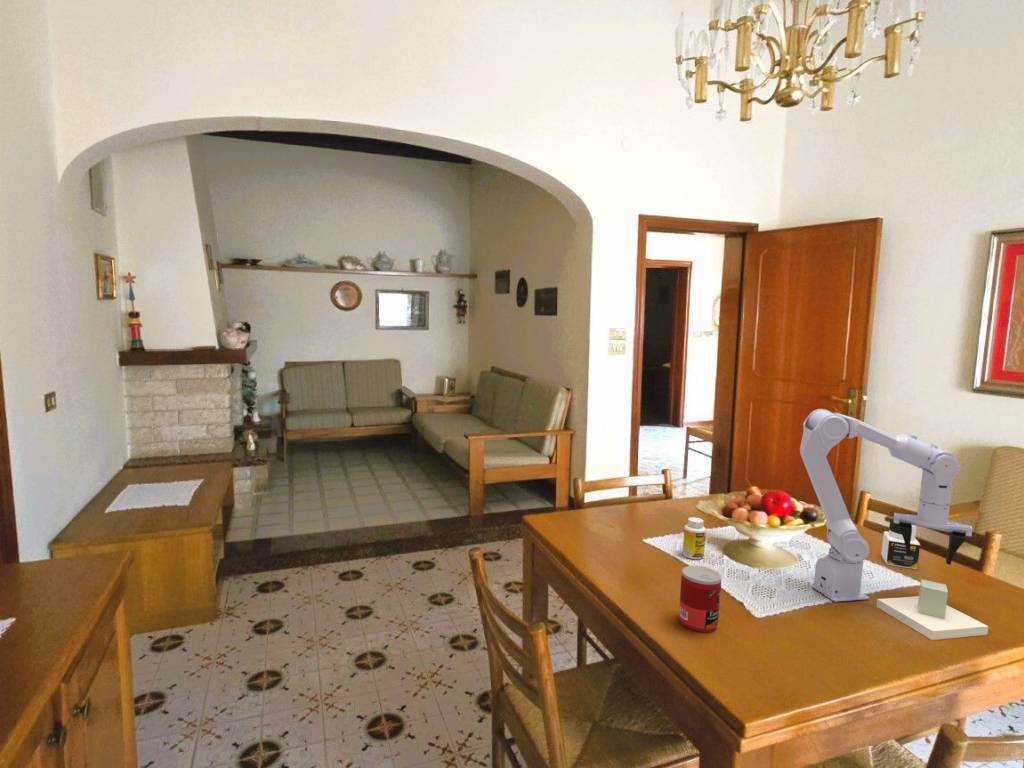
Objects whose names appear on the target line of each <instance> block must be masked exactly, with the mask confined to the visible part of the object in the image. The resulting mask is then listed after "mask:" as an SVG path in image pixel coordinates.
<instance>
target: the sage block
mask: <svg viewBox="0 0 1024 768" xmlns="http://www.w3.org/2000/svg"><path fill="white" fill-rule="evenodd" d="M948 593H949V591H948V588H947V584H944V583H941V582H934V581H931V580H927V579H923V578H922V579H920V586H919V594H918V596H919V601H918V609H919V613H921V614H925V615H929V616H933V617H937V618H941V619H945V612H946V605H948V604H947V602H948Z"/></svg>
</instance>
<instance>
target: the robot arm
mask: <svg viewBox="0 0 1024 768" xmlns="http://www.w3.org/2000/svg"><path fill="white" fill-rule="evenodd" d="M802 425H803V431H802V438H801V442H800V446H799V453H800V457H801V459H802V462H803V464H804V467H805V470H806V471H807V474H808V477H809V479H810V482H811V485H812V487H813V490H814V491H815V494H816V496H817V499H818V502H819V504H820V507H821V509H822V512H823V515H824V517H825V520H826V521H825V523H824V524H825V526H826V530H827V531H826V541H827V542H828V544H829V545H830V548H829V549H828V553H827V555H826V556H824V557H821V558H820V557H819V558H818V559H816V560H817V561H816V563H815V568H814V578H813V579H814V581H813V584H811V585H810V587H811V586H812V587H811V588H813V589H814V588H815V591H817V590H818V592H819V593H820V592H821V593H820V594H822V595H823V594H824V595H823V596H825V597H827V598H828V599H829V600H831V601H833V602H835V603H836V602H847V601H863V600H869V598H870V597H869V596H868V595H866V594H865V593H863V592H861V587H862V579H863V578H862V576H863V570H864V569H863V568H864V561H865V560H866V559H867V558H868V557H869V555H870V546H869V543H868V542H867V541H866V540H865V539H864V538H863V537H862V536H861V535H860V533H859V530H858V528H857V527H856V525H855V523H854V522H853V521H852V518H851V516H850V514H849V511H848V508H847V506H846V503H845V502H844V499H843V496H842V493H841V491H840V488H839V486H838V483H837V481H836V479H835V476H834V473H833V471H832V469H831V466H830V464H829V461H828V458H827V456H828V454H829V452H830V451H831V450H832V448H834V447H835V446H837V444H838V443H840V442H841V441H843V439H846V438H847V439H853V438H855V437H860V438H862V439H864V440H867V441H869V442H872V443H874V444H877V445H880V446H882V447H885V448H887V449H888V451H889V453H890V456H892V457H893V458H895V459H897V460H900V461H902V462H904V463H907V464H909V465H911V466H914V467H916V468H918V469H921V470H922V474H921V483H920V490H919V499H918V505H917V506H918V507H917V514H906V513H899V512H898V513H897V512H894V514H893V518H894V523H898V524H899V528H900V531H901V533H902V536H903V539H904V542H905V547H906V556H910V542H911V534H912V525H914V526H917V527H920V528H924V529H925V528H927V529H931V530H937V531H942V532H947V533H948V532H949V538H948V547H947V552H946V555H945V556H946V557H945V558H946V559H945V563H946V564H947V565H951V563H952V562H953V559H954V557H955V554H956V552H957V551H958V550H959V549H960V547H961V546H962V545H963V544H964V542H966V537H972V535H973V527H972V525H967V524H963V523H959V522H955V521H950V520H949V514H950V513H949V512H950V505H951V498H952V489H953V485H954V483H953V482H954V478H955V477H956V476H957V475H958V474H959V473H960V471H961V468H962V466H961V465H960V463H959V460H958V458H956V456H955V455H954V454H952V453H950V452H948V451H945V450H943V449H940V448H938V447H939V446H938V445H936V444H934V443H931V444H929V443H926V442H924V441H922V440H920V439H918V436H917V435H915V434H913V433H909V434H905V433H901V434H898V435H893V434H890V433H889V432H886V431H884V430H882V429H880V428H878V427H875V426H873V425H871V424H868V423H866V422H864V421H862V420H860V419H857V418H855V417H851V416H848V415H846V414H841V413H838V412H835V411H834V412H832V411H830V410H828V409H825V408H817V409H815V410H813V411H812V412H810V413H809V414H808V415H807V417H806V418H805V420H804V421H803V423H802Z"/></svg>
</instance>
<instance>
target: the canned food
mask: <svg viewBox="0 0 1024 768" xmlns="http://www.w3.org/2000/svg"><path fill="white" fill-rule="evenodd" d="M680 579H681V580H680V593H679V594H680V595H679V606H678V607H679V608H678V609H679V610H678V618H679V621H680V623H681V624H682V625H683V626H684V627H686V628H687V629H690V630H692V631H695V632H698V633H699V632H700V633H711V632H713V631H715V630H716V629H717V627H718V625H719V615H720V603H721V594H722V593H721V591H722V575H721V574H720V573H719V572H718V571H716V570H714V569H712V568H709V567H706V566H701V565H687V566H684V567H683V568H682V569H681V577H680Z"/></svg>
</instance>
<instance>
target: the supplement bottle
mask: <svg viewBox="0 0 1024 768" xmlns="http://www.w3.org/2000/svg"><path fill="white" fill-rule="evenodd" d="M683 532H684V533H683V543H682V554H683V556H684V557H685V558H688V559H691V560H702V559H703V558H704V555H705V545H706V533H707V529H706V527H705V526H704V520H703V518H700V517H688V519H687V524H685V525H684V529H683Z"/></svg>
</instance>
